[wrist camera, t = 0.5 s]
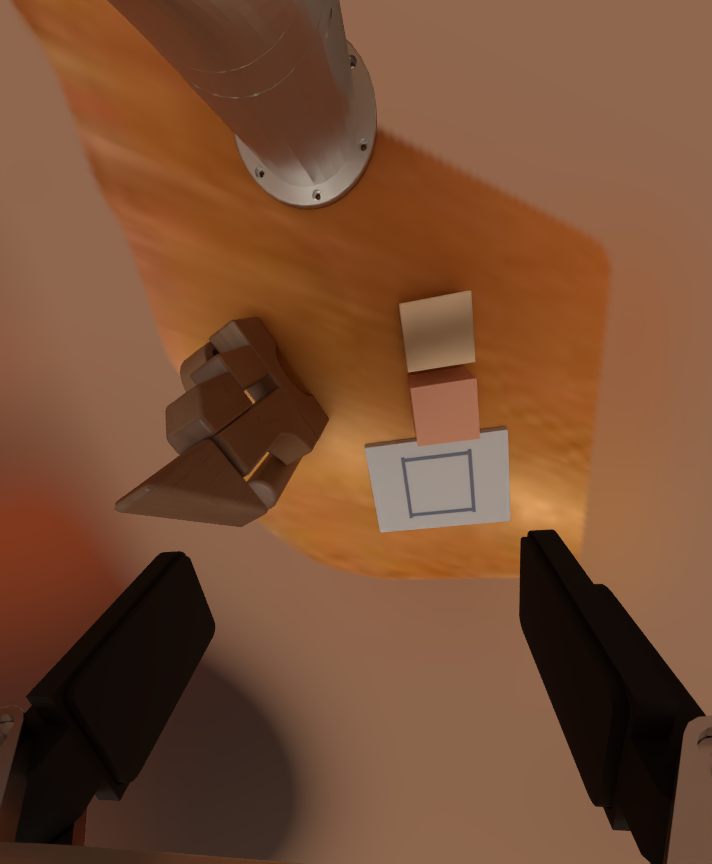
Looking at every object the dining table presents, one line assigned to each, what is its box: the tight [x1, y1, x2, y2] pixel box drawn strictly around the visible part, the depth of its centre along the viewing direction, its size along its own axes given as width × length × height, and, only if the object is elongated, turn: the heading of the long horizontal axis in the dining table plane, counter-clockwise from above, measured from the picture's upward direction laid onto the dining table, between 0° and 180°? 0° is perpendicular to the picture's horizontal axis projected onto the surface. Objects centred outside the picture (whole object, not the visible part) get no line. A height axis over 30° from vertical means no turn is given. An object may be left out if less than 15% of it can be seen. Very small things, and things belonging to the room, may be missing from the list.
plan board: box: [365, 427, 510, 532], centre depth 41 cm, size 12×16×1 cm
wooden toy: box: [114, 317, 329, 527], centre depth 28 cm, size 16×7×25 cm, turn 33°
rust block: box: [407, 366, 480, 446], centre depth 35 cm, size 6×6×6 cm
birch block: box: [398, 290, 475, 372], centre depth 33 cm, size 6×6×6 cm
